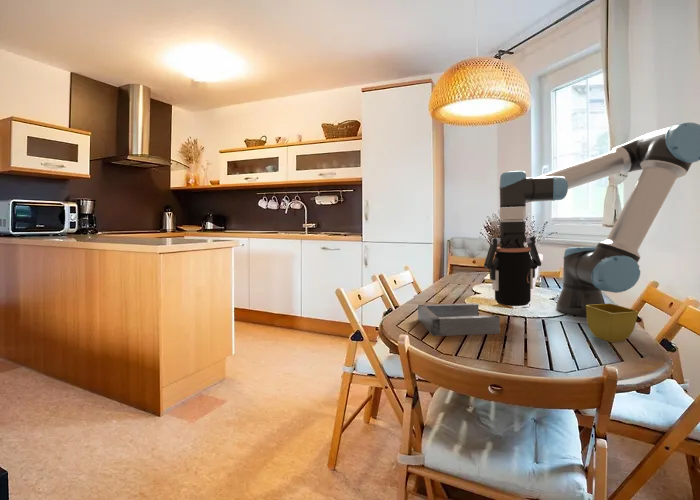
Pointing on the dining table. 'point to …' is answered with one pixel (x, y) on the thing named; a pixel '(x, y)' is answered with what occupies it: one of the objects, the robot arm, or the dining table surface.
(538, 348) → the dining table surface
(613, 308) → the flower pot
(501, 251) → the coffee jar
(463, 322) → the channel
